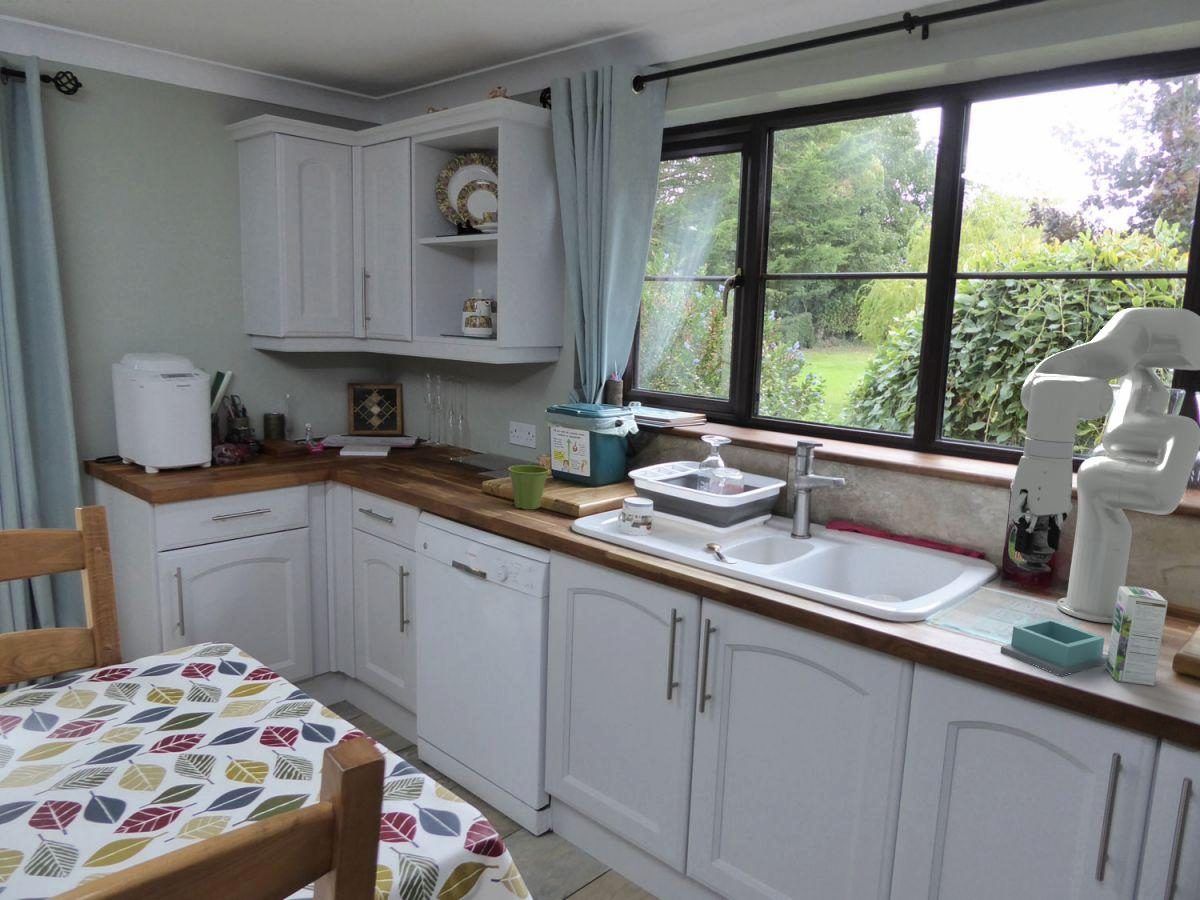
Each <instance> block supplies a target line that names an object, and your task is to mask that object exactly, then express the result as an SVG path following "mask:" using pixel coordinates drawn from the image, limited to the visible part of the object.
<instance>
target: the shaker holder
mask: <svg viewBox="0 0 1200 900" xmlns="http://www.w3.org/2000/svg"><path fill="white" fill-rule="evenodd" d="M1012 627H1013V628H1012V635H1011V636H1012V637H1011V643H1010V644H1005V645H1002V646H1000V653H1003V654H1005V655H1007V656H1010V657H1013V658H1014V657H1015V659H1017V658H1018V659H1017V660H1019V659H1021V660H1020V661H1022V660H1023V661H1022V662H1024V661H1026V662H1025V663H1027V662H1029V663H1031V664H1030V665H1032V664H1034V665H1037V666H1039V667H1041V668H1044V669H1046V670H1048V671H1047V672H1049V671H1051V672H1053V673H1055V674H1054V675H1056V674H1058V675H1059V676H1058V675H1057V676H1058V677H1063V676H1062V675H1064V676H1067V675H1066V674H1068V675H1070V674H1069V673H1071V674H1075V673H1078V672H1080V671H1081V670H1082V671H1085V670H1088V669H1092V668H1096V667H1098V666H1103V665H1107V659H1108V654H1106V653H1103V652H1104V647H1105V639H1106V637H1104V636H1100V635H1097V634H1094V633H1092V632H1089V631H1086V630H1083V629H1081V628H1078V627H1074V626H1071V625H1069V624H1067V623H1064V622H1061V621H1057V620H1055V619H1052V618H1046V619H1045V618H1044V619H1041V620H1036V621H1031V622H1026V623H1023V624H1019V625H1013V626H1012ZM1029 663H1028V664H1029ZM1034 665H1033V666H1034ZM1039 667H1038V668H1039ZM1041 668H1040V669H1041ZM1044 669H1043V670H1044ZM1046 670H1045V671H1046ZM1077 671H1078V672H1077ZM1051 672H1050V673H1051ZM1074 672H1075V673H1074ZM1053 673H1052V674H1053Z"/></svg>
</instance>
